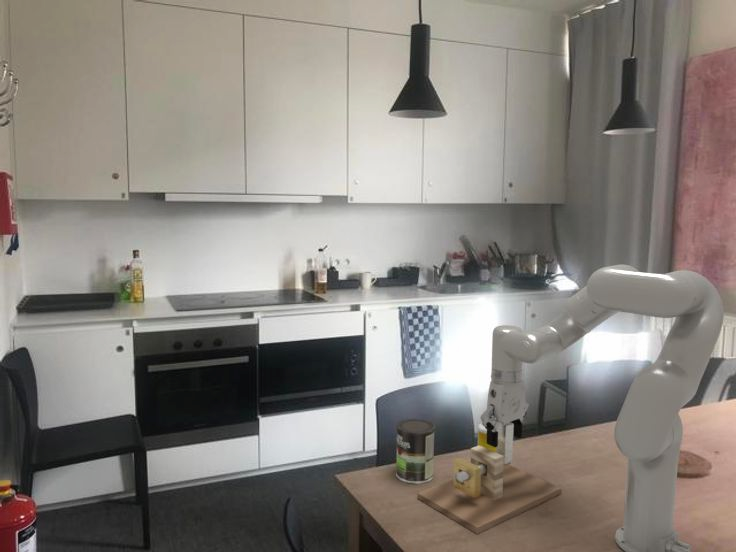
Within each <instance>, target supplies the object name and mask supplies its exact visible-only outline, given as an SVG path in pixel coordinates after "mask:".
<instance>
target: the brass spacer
mask: <svg viewBox="0 0 736 552" xmlns="http://www.w3.org/2000/svg"><path fill="white" fill-rule="evenodd" d="M462 471H464V472H466V473H468V474H470V483H468V482H466V481H465V482H463V483H460V484H459V483H457V482H456V480H455V474H456V473H459V472H462ZM453 479H454V482H453V487H455V488H457V489H458V490H460V491H462V492H464V493H466V494H468V495H470V496H472V497H473V498H476V497H478V496H480V488H481V467H478V466H476V465H474V464H472V463H471V461H468V460H465V459H464V458H462V457H458V458H455V459H453Z"/></svg>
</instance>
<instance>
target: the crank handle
mask: <svg viewBox="0 0 736 552" xmlns="http://www.w3.org/2000/svg"><path fill="white" fill-rule="evenodd" d="M513 429H514V424H513V423H511V422H508V423H504V424H501V423H500V424H499V426H498V428H497V430H496V431H497V432H498V446H497V447H496V453H498V454H500V455H502V456H504V463H503V466H506V465H511V464H512V462H513V456H514V455H513V454H514V452H513V451H514V436H513ZM477 466H478V467H481V475H483V474H485V473H487V465H485V464H480V465H477ZM455 480H456V482H457V483H459V484H460V483H463V482H465V481H468V480H470V474H468V473H466V472H464V471H462V472H459V473H456V474H455Z"/></svg>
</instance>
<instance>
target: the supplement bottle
mask: <svg viewBox="0 0 736 552" xmlns="http://www.w3.org/2000/svg"><path fill="white" fill-rule="evenodd" d="M495 419H496V418H495ZM494 423H495V422H494V421H493V422H492V425H493V426H494ZM486 441H487V429H485V426H484V425H483V422H482V421H481V423H479V424H478V425H477V446H482V447H484V448H486V449H489V450H491V451H493V452H496V447H493V446H491V445H488V444H487V442H486Z"/></svg>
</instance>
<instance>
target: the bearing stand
mask: <svg viewBox="0 0 736 552" xmlns="http://www.w3.org/2000/svg"><path fill="white" fill-rule="evenodd" d="M470 463H472V464H474V465H476V466H477V465H480V464H485V465H487V473H485V474H483V475H481V488H480V496H478V497H476V498H473V497H472V496H470V495H468V494H466V493H464V492H462V491H460V490H458V489H457V488H455V487H453V482H454V478H453V479H450V480H447V481H444V482H441V483H439V484H437V485H434V486H431V487H429V488H427V489H424V490H421V491H418V492H417V494H416V495H417V499H418V500H419V501H421V502H423V503H424V504H426V505H428V506H429V507H431V508H432V509H434V510H436V511H438V512H439V513H441V514H442V515H445V516H446V517H448V518H450V519H451V520H453V521H454V522H456V523H458V524H460V526H462V527H464V528H467V529H468V530H470V531H472V532H473V533H474V534H477V535H478V534H480V533H482V532H485V531H487V530H488V529H491V528H493V527H495V526H498V525H499V524H501V523H503V522H505V521H508V520H510V519H511V518H513V517H517V516H518V515H521V514H522V513H525V512H526V511H528V510H530V509H532V507H533V508H534V507H537V506H539V505H541V504H543V503H544V502H547V501H549V500H551V499H553V498H556V497H557V495H558V496H559V494H560V495H561V494H562V488H561V487H560V486H557V485H555V484H554V483H550V482H549V481H547V480H543V479H541V478H539V477H537V476H534V475H533V474H530V473H528V472H527V471H526V472H525V471H524V470H521V469H519V468H517V467H515V466H512V465H511V464H508V465H506V466H503V463H504V456H502V455H500V454H498V453H496V452H493V451H491V450H489V449H486V448H484V447H482V446H478V445H477V446H474V447H471V448H470ZM466 482H468V483H470V480H468V481H466ZM542 502H543V503H542ZM540 503H541V504H540ZM536 505H537V506H536Z"/></svg>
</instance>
